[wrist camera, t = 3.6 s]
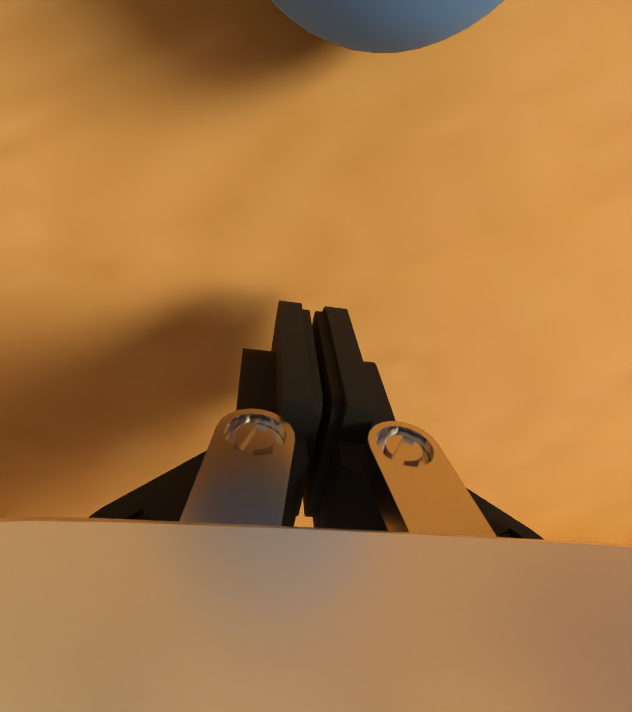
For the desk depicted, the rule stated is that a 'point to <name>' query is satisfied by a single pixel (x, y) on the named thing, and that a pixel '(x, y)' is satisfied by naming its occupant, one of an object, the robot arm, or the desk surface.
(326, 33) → the ball
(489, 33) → the desk surface
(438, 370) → the desk surface
